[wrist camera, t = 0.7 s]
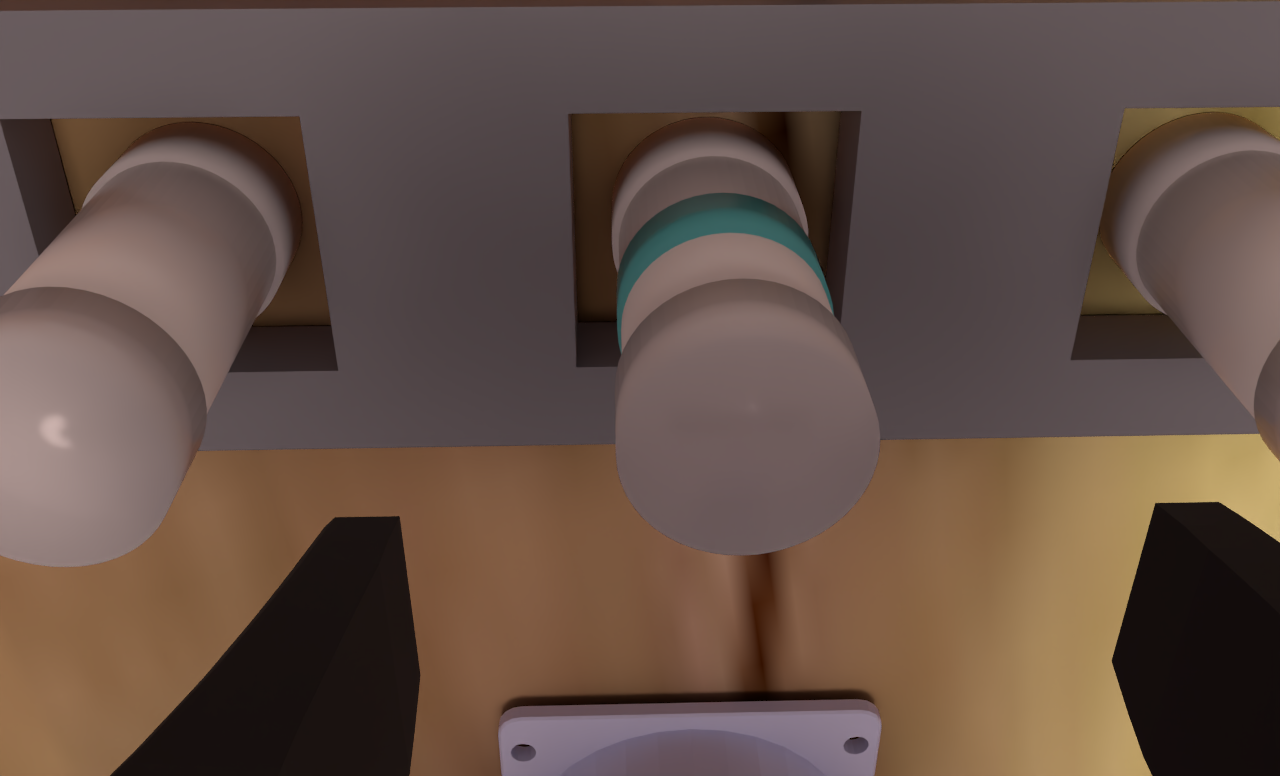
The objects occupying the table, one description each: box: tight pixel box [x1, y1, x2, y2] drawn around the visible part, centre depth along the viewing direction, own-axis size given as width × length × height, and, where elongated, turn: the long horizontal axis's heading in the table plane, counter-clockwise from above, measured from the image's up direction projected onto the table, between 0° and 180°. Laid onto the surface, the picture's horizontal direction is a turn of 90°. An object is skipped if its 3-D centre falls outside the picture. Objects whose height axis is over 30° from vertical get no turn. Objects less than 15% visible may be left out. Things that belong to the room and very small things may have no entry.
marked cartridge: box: [611, 117, 880, 555], centre depth 17 cm, size 3×3×7 cm
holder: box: [0, 0, 1280, 451], centre depth 19 cm, size 7×24×2 cm, turn 90°
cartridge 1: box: [0, 122, 302, 567], centre depth 17 cm, size 3×3×7 cm
